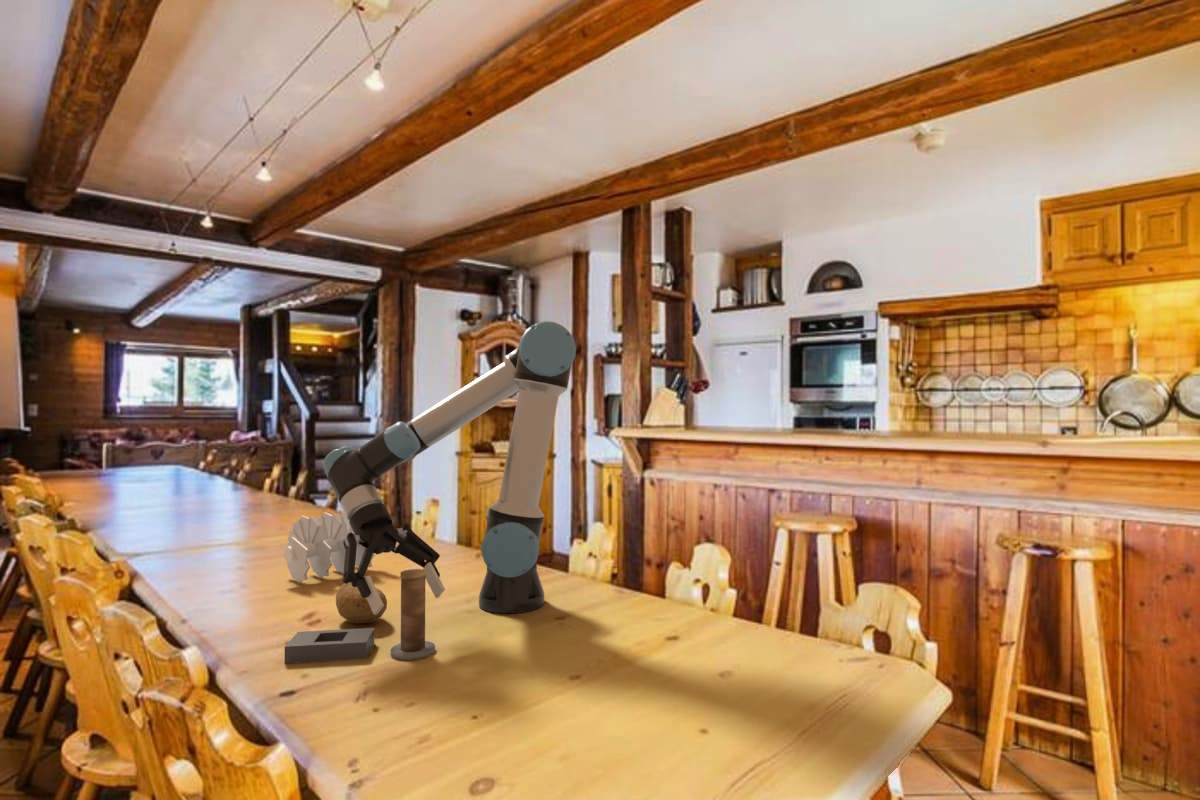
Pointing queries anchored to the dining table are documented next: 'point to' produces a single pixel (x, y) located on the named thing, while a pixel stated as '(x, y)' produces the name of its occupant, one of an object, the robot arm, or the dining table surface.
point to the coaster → (402, 655)
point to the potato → (356, 605)
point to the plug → (413, 610)
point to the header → (329, 645)
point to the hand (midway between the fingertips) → (411, 601)
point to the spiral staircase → (319, 545)
